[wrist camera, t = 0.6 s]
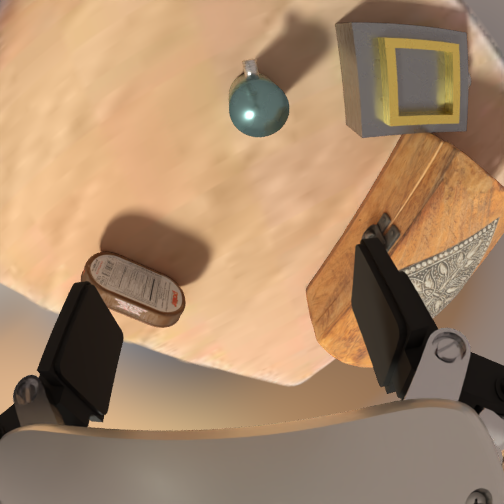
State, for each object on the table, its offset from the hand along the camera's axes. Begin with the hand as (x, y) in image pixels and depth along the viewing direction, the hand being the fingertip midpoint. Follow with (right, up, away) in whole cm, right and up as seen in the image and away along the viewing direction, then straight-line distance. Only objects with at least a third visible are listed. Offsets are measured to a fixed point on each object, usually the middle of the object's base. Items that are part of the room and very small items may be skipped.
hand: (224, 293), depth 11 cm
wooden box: (+21, +5, +33) cm, 39 cm away
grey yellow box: (+18, +22, +19) cm, 34 cm away
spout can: (+1, +18, +20) cm, 27 cm away
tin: (-15, -1, +34) cm, 37 cm away
